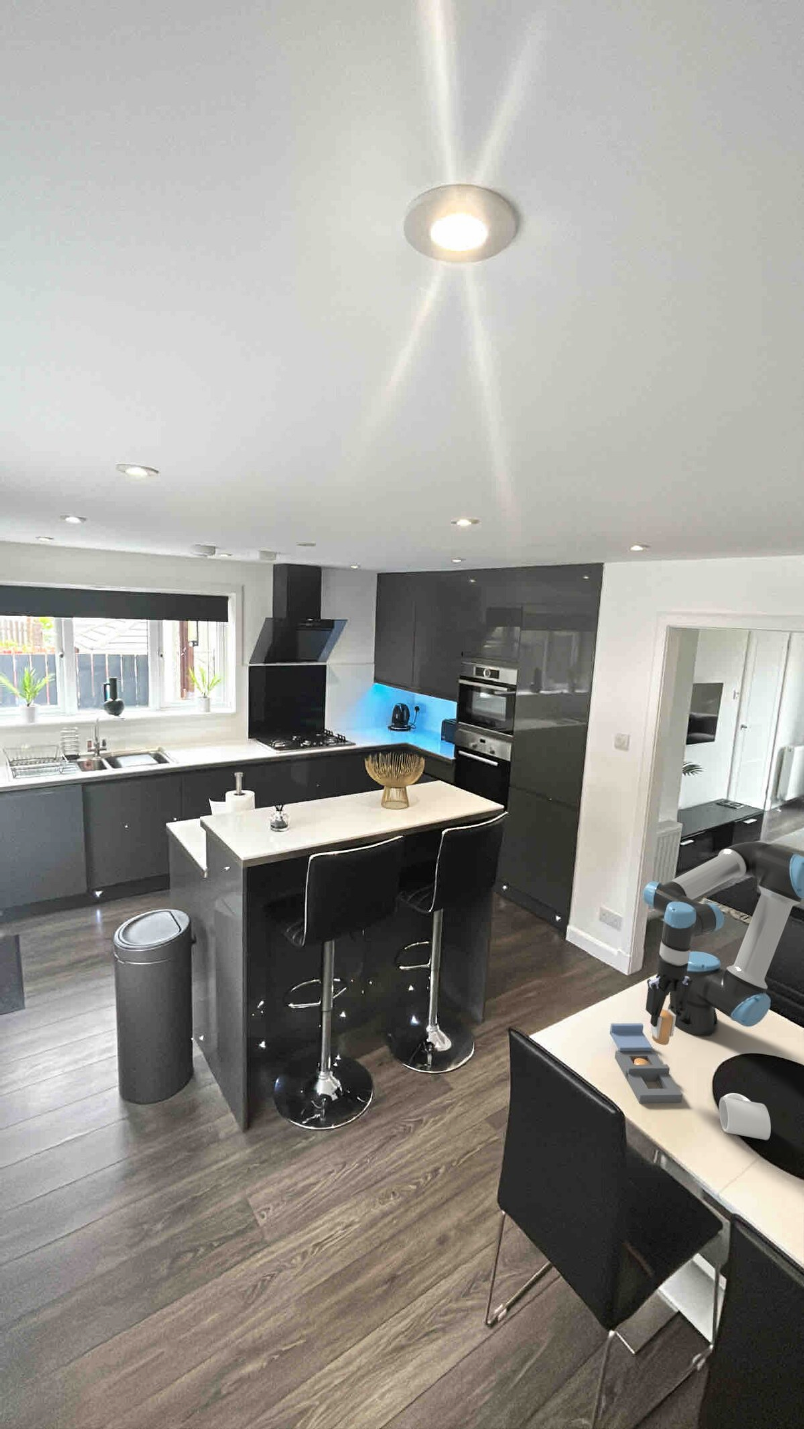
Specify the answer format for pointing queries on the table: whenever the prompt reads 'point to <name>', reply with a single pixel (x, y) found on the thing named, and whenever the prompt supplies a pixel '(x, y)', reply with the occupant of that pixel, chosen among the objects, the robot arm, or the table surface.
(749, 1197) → the table surface
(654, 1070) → the housing
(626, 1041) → the lid
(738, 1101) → the mug
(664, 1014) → the pin
